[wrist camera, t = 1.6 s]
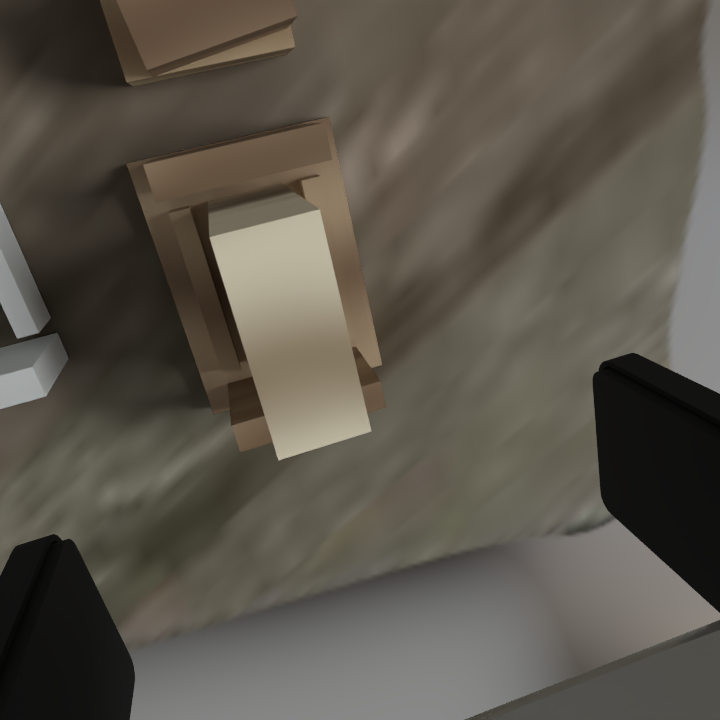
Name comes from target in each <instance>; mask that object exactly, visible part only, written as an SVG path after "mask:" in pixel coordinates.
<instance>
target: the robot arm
mask: <svg viewBox="0 0 720 720" xmlns="http://www.w3.org/2000/svg"><path fill="white" fill-rule="evenodd" d="M593 394H594V407H595V421H596V435H597V448H598V462H599V476H600V490H601V497H602V500H603V503H604V505H605V507H606V508H607V510H608V511H609V512H610V513H611V514H612V515H613V516H614V517H615V518H616V519H617V520H618V521H619V522H621V523H622V524H623V525H624V526H625V527H626V528H627V529H628V530H629V531H631V532H632V533H633V534H634V535H635V536H636V537H637V538H638V539H639V540H640V541H641V542H643V543H644V544H645V545H646V546H647V547H648V548H649V549H650V550H651V551H652V552H654V553H655V554H656V555H657V556H658V557H659V558H660V559H661V560H662V561H663V562H665V563H666V564H667V565H668V566H669V567H670V568H671V569H672V570H673V571H675V572H676V573H677V574H678V575H679V576H680V577H681V578H682V579H683V580H684V581H686V582H687V583H688V584H689V585H690V586H691V587H692V588H693V589H694V590H695V591H696V592H698V593H699V594H700V595H701V596H702V597H703V598H704V599H705V600H706V601H708V602H709V603H710V604H711V605H712V606H713V607H714V608H715V609H716V610H717V611H718V612H720V394H719V393H717V392H715V391H713V390H711V389H709V388H707V387H704V386H702V385H700V384H698V383H696V382H694V381H692V380H689V379H688V378H685V377H684V376H681V375H679V374H678V373H675V372H673V371H671V370H669V369H667V368H665V367H663V366H661V365H659V364H657V363H655V362H653V361H651V360H649V359H646V358H644V357H642V356H640V355H638V354H635V353H630V354H627V355H623V356H620V357H617V358H614V359H611V360H607V361H604V362H602V364H601V365H600V367H599V372H596V373H595V374H594V376H593ZM134 683H135V672H134V666H133V662H132V659H131V657H130V655H129V652H128V650H127V648H126V646H125V644H124V642H123V640H122V638H121V636H120V634H119V632H118V630H117V628H116V626H115V624H114V622H113V620H112V618H111V616H110V614H109V612H108V610H107V608H106V606H105V604H104V602H103V600H102V597H101V595H100V593H99V591H98V589H97V587H96V585H95V583H94V581H93V579H92V577H91V575H90V573H89V571H88V569H87V567H86V565H85V563H84V561H83V559H82V557H81V555H80V553H79V551H78V549H77V547H76V545H75V543H74V542H73V541H72V540H71V539H66V540H63V541H62V540H61V538H59V537H58V536H57V535H55V534H53V535H49V536H46V537H43V538H40V539H37V540H33V541H30V542H27V543H24V544H21V545H18V546H16V547H15V548H14V549H13V551H12V553H11V555H10V557H9V559H8V561H7V563H6V565H5V567H4V569H3V571H2V574H1V576H0V720H129V719H130V713H131V705H132V698H133V691H134ZM465 720H720V620H719V621H716V622H714V623H711V624H709V625H706V626H703V627H701V628H698V629H696V630H693V631H690V632H688V633H685V634H683V635H680V636H678V637H675V638H672V639H670V640H667V641H665V642H662V643H660V644H657V645H654V646H652V647H649V648H647V649H644V650H641V651H639V652H636V653H634V654H631V655H628V656H626V657H623V658H621V659H618V660H615V661H613V662H610V663H608V664H605V665H603V666H600V667H597V668H595V669H592V670H590V671H587V672H585V673H582V674H580V675H577V676H575V677H572V678H569V679H567V680H564V681H562V682H559V683H557V684H554V685H552V686H549V687H546V688H544V689H541V690H539V691H536V692H534V693H531V694H529V695H526V696H524V697H521V698H518V699H516V700H513V701H511V702H508V703H506V704H503V705H501V706H498V707H496V708H493V709H490V710H488V711H485V712H483V713H480V714H478V715H475V716H473V717H470V718H468V719H465Z"/></svg>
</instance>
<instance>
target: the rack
mask: <svg viewBox="0 0 720 720" xmlns="http://www.w3.org/2000/svg"><path fill="white" fill-rule="evenodd" d="M127 167H128V170H129V173H130V176H131V179H132V181H133V184H134V187H135V190H136V193H137V196H138V199H139V201H140V204H141V207H142V210H143V213H144V216H145V219H146V222H147V224H148V227H149V230H150V233H151V236H152V239H153V242H154V244H155V247H156V250H157V253H158V256H159V259H160V262H161V264H162V267H163V270H164V273H165V276H166V279H167V282H168V285H169V287H170V290H171V293H172V296H173V299H174V302H175V305H176V307H177V310H178V313H179V316H180V319H181V322H182V325H183V327H184V330H185V333H186V336H187V339H188V342H189V345H190V348H191V350H192V353H193V356H194V359H195V362H196V365H197V368H198V370H199V373H200V376H201V379H202V382H203V385H204V388H205V391H206V393H207V396H208V399H209V402H210V405H211V408H212V411H213V413H214V414H217V413H220V412H224V411H227V410H230V416H231V426H232V429H233V432H234V435H235V438H236V441H237V444H238V447H239V450H240V452H242V451H246V450H249V449H252V448H255V447H259V446H262V445H265V444H268V443H272V442H273V441H272V437H271V434H270V431H269V428H268V424H267V421H266V418H265V415H264V412H263V408H262V405H261V402H260V399H259V395H258V392H257V389H256V386H255V383H254V379H253V376H252V373H251V370H250V366H249V363H248V360H247V357H246V354H245V350H244V347H243V344H242V341H241V338H240V334H239V331H238V328H237V325H236V321H235V318H234V315H233V312H232V309H231V305H230V302H229V299H228V296H227V292H226V289H225V286H224V283H223V280H222V276H221V273H220V270H219V267H218V263H217V260H216V257H215V254H214V251H213V247H212V244H211V241H210V238H209V218H208V201H209V200H214V199H218V198H222V197H226V196H230V195H234V194H238V193H242V192H246V191H250V190H254V189H258V188H263V187H267V186H271V185H275V184H279V183H282V184H283V185H285V186H286V187H288V188H289V189H291V190H292V191H294V192H295V193H297V194H298V195H299V196H301V197H302V198H304V199H305V200H307V201H308V202H310V203H311V204H313V205H314V206H316V207H317V208H319V209H320V212H321V217H322V221H323V225H324V230H325V234H326V238H327V242H328V247H329V251H330V255H331V260H332V264H333V268H334V273H335V277H336V281H337V286H338V290H339V294H340V298H341V303H342V307H343V311H344V316H345V320H346V324H347V329H348V333H349V337H350V342H351V346H352V350H353V354H354V359H355V363H356V367H357V372H358V376H359V380H360V385H361V389H362V393H363V398H364V402H365V406H366V410H367V413H370V412H373V411H376V410H379V409H383V408H386V404H385V400H384V395H383V390H382V386H381V381H380V380H379V378H378V377H377V375H376V374H375V373H374V371H373V370H372V368H373V367H376V366H379V365H382V363H381V358H380V353H379V349H378V344H377V339H376V335H375V330H374V325H373V321H372V316H371V311H370V306H369V302H368V297H367V292H366V288H365V283H364V278H363V274H362V269H361V264H360V260H359V255H358V250H357V245H356V241H355V236H354V231H353V227H352V222H351V217H350V213H349V208H348V203H347V199H346V194H345V189H344V184H343V180H342V175H341V170H340V166H339V161H338V156H337V152H336V147H335V142H334V138H333V133H332V128H331V123H330V119H329V117H325V118H321V119H316V120H312V121H308V122H303V123H299V124H295V125H290V126H286V127H282V128H277V129H273V130H269V131H265V132H260V133H256V134H252V135H247V136H243V137H239V138H234V139H230V140H226V141H221V142H217V143H213V144H208V145H204V146H200V147H195V148H191V149H187V150H182V151H178V152H174V153H170V154H165V155H161V156H157V157H152V158H148V159H144V160H139V161H135V162H131V163H127Z"/></svg>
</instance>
